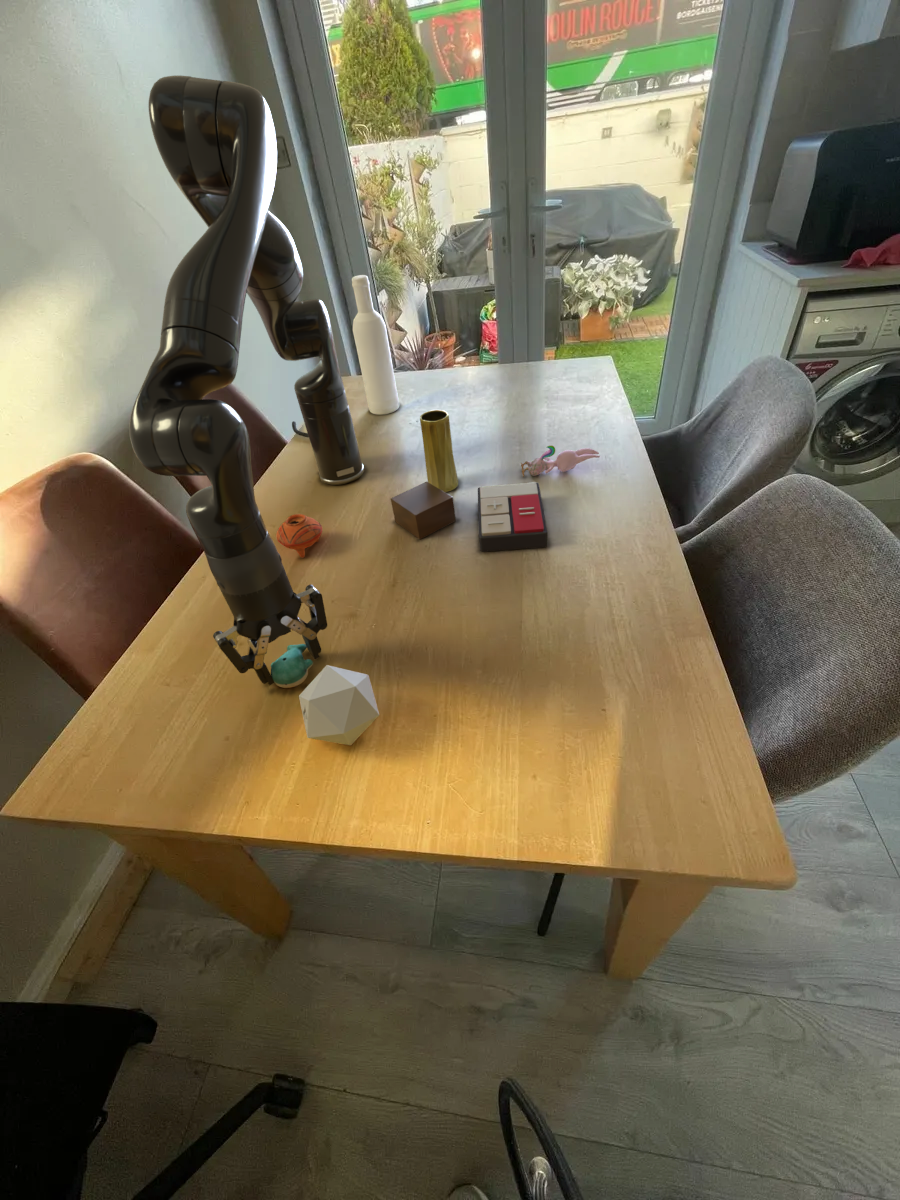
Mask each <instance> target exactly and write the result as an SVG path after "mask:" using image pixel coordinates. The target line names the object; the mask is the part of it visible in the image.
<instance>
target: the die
mask: <svg viewBox="0 0 900 1200" xmlns="http://www.w3.org/2000/svg"><path fill="white" fill-rule="evenodd" d="M298 698H299V699H298V700H299V703H300V709H301V714H302V718H303V723H304V728H305V733H306V738H307V739H311V740H317V741H322V742H328V743H335V744H340V745H346V746H352V745H353V744H354V743H355V742H356V740H358V739H359V738H360V736H361V735H363V733H364V732H365V731H366V730H367V729H368V728H369V727H370V726H371V725H372V724H373V723H374V722H375V721H376V720H377V719H378V717H380V711H379V707H378V704H377V701H376V696H375V693H374V690H373V686H372V682H371V678H370V676H369V674H366V673H362V672H358V671H354V670H350V669H346V668H343V667H342V668H341V667H338V666H333V665H329V664H326V665H325V666H324V667H323V668H322V670H321V671H320V672H319V673H318V674H317V675H316V676H315V677H314V679H313V680H312V681H311V682H310V683H309V684H308V685H307V686H306V687H305V688H304V689H303V691H301V693H300V694H299V695H298Z"/></svg>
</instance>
